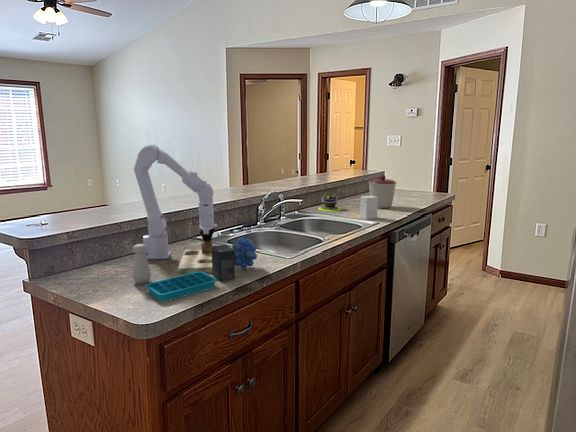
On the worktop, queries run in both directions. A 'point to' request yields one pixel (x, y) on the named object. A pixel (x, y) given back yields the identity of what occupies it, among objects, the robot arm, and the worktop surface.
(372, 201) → the supplement box
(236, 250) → the grapes
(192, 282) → the ice cube tray
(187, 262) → the board
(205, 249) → the walnut block
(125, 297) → the worktop surface
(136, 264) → the salt shaker
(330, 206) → the toy cauldron
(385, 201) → the canister
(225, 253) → the box
